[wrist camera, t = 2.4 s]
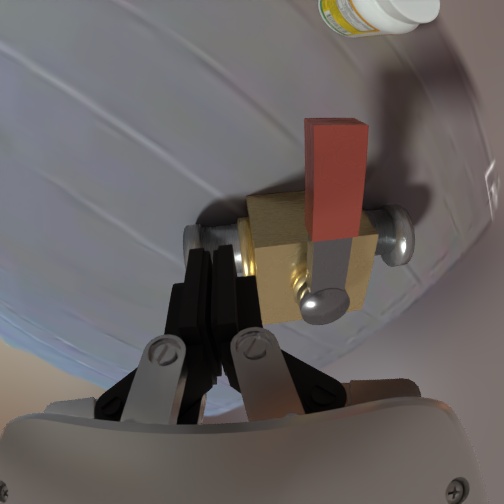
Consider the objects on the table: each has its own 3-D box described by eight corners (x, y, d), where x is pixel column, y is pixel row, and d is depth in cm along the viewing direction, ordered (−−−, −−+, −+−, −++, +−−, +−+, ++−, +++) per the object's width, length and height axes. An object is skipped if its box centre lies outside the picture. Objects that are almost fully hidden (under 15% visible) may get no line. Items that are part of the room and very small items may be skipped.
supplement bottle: (316, 32, 17) (371, 18, 10) (316, -22, 14) (368, -60, 7) (376, 44, 18) (448, 45, 10) (376, -8, 15) (446, -26, 7)
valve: (201, 271, 30) (197, 338, 23) (185, 203, 26) (171, 265, 19) (379, 249, 31) (415, 304, 24) (391, 185, 26) (440, 233, 19)
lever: (340, 305, 22) (346, 322, 21) (296, 312, 22) (300, 330, 21) (360, 118, 14) (375, 125, 12) (296, 118, 14) (305, 125, 12)
